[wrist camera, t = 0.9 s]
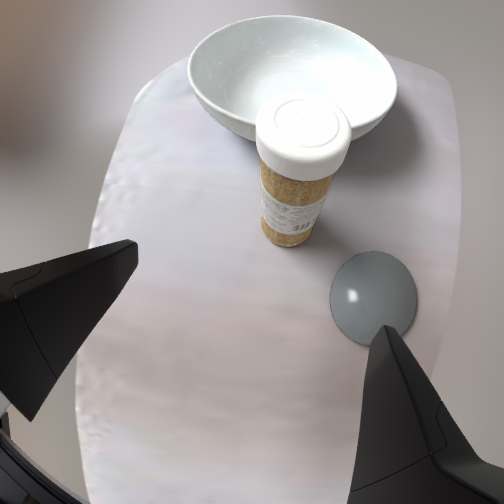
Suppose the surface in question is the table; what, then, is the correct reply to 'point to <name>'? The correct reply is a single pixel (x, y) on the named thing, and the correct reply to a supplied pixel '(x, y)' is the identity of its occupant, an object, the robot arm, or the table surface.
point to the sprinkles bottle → (298, 161)
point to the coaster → (372, 296)
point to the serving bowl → (289, 71)
